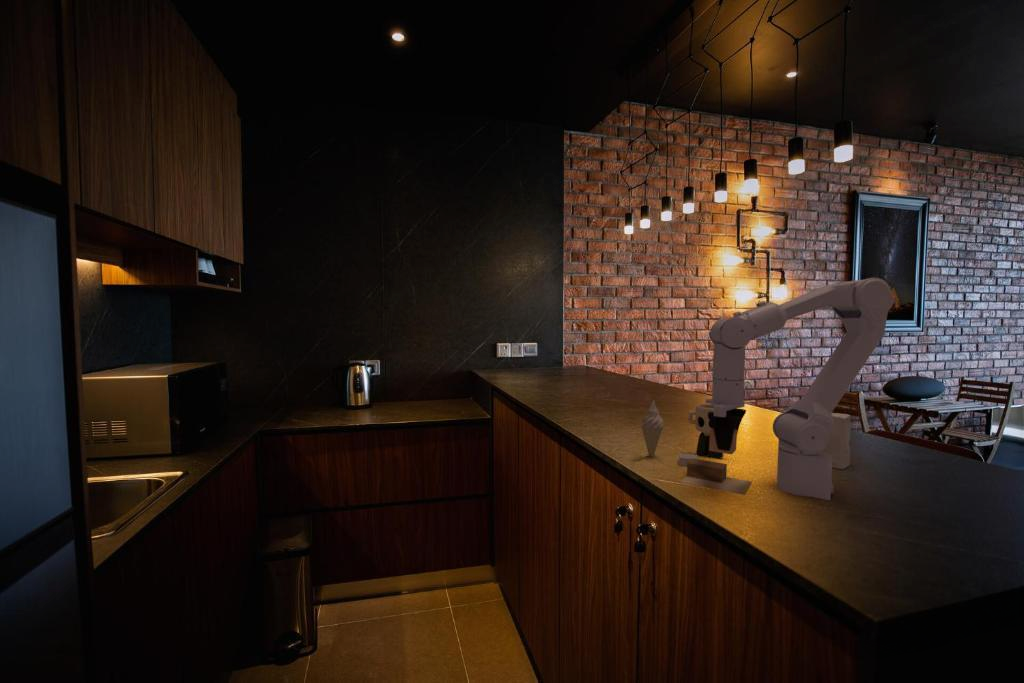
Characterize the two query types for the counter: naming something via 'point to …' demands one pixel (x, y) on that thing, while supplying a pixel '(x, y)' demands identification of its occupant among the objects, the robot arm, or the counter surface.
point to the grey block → (686, 458)
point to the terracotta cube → (714, 446)
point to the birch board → (721, 484)
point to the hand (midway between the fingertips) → (726, 447)
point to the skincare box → (839, 441)
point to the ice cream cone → (652, 428)
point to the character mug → (703, 430)
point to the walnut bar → (706, 470)
